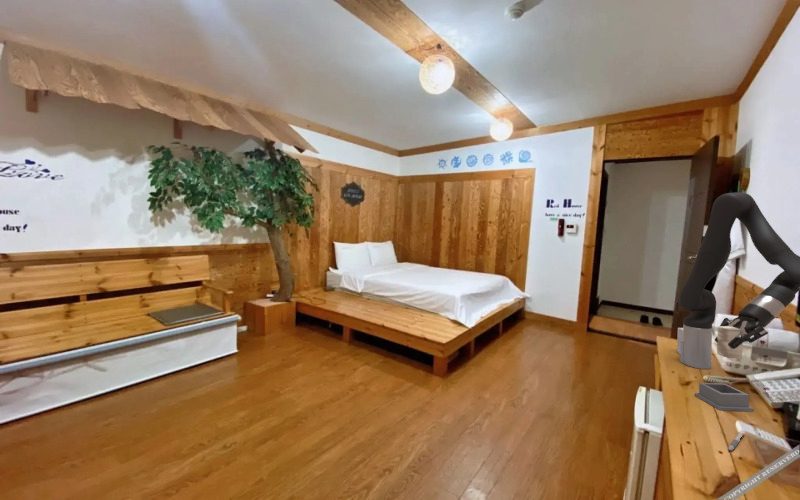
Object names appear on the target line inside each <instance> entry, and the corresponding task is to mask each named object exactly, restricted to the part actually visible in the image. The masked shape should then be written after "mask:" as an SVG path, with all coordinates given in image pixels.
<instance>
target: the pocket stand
mask: <svg viewBox="0 0 800 500" xmlns="http://www.w3.org/2000/svg"><path fill="white" fill-rule="evenodd" d="M698 384H699V385H698V392H694V396H695V397H696V398H697V399H700V400H701V401H703V402H705V403H706V404H708V405H710V406H712V407H714V408H715V409H716V410H718V411H722V412H751V413H753V412H755V408H754V407H752V406H750V394H748V393H746V392H744V391H742V390H739V389H737V388H735V387H733V386H732V385H729V384H727V383H719V382H710V383H709V382H699V383H698Z"/></svg>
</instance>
